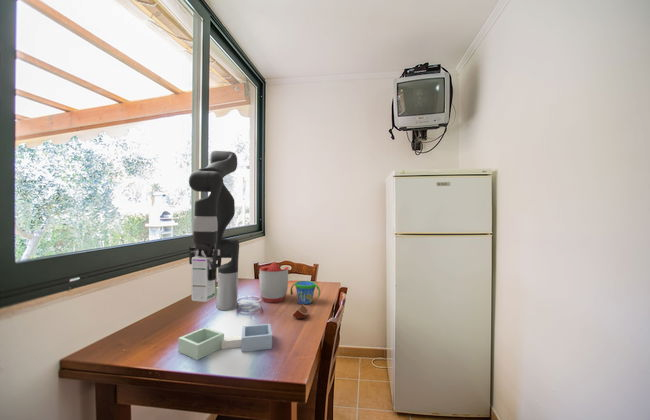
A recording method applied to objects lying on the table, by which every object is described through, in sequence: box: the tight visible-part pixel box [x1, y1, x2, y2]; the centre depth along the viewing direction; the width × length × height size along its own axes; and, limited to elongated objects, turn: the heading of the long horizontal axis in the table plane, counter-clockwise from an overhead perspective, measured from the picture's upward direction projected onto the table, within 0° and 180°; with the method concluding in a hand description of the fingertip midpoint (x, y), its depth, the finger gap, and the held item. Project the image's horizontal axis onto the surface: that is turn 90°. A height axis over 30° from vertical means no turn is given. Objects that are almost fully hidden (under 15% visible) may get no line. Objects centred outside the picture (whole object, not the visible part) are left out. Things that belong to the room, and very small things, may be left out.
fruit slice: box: [292, 304, 310, 320], centre depth 120 cm, size 8×7×5 cm
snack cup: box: [289, 280, 321, 305], centre depth 140 cm, size 16×10×10 cm
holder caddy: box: [177, 323, 273, 361], centre depth 93 cm, size 30×14×4 cm, turn 105°
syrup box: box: [191, 256, 218, 303], centre depth 91 cm, size 6×6×14 cm
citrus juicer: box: [258, 262, 290, 304], centre depth 145 cm, size 16×17×20 cm
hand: (204, 278), depth 91 cm, fingers closed on syrup box, 6 cm apart
